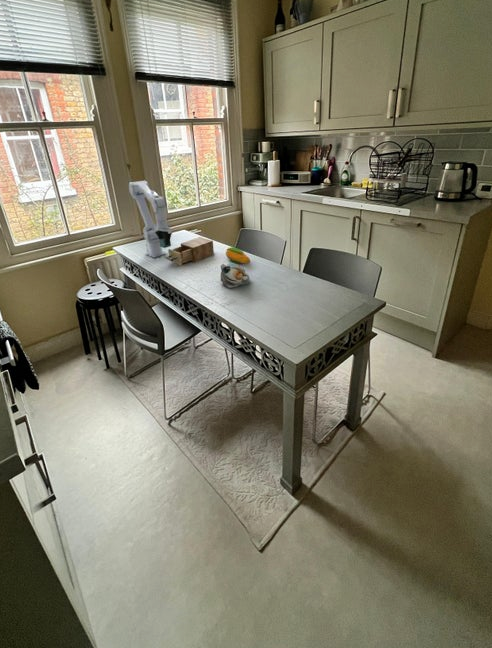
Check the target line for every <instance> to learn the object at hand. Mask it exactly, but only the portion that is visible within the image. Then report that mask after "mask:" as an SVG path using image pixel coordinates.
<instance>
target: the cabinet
mask: <svg viewBox="0 0 492 648" xmlns="http://www.w3.org/2000/svg"><path fill="white" fill-rule="evenodd" d="M180 246H186V247H189V248H192V249H193V257H194V259H193V260H191V262H193V263H196V262H200V261H202V260H204V259H206V258H209V257H212V256H215V253H214V241H213V240H212V239H208V238H205V237H201V236H199V237H197V238H193V239H190V240H187V241H185V242H181V243H180Z"/></svg>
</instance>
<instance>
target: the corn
mask: <svg viewBox="0 0 492 648" xmlns="http://www.w3.org/2000/svg"><path fill="white" fill-rule="evenodd" d="M225 256H226V257H227V259H229V260H230V261H232V262H233V263H235V264H240V265H241V264H249V263H251V259H250V257H249V256H247V254H245V253H244V251H243V250H241V249H240V248H239V247H235V246H233V247H228V248H227V249H226V251H225Z"/></svg>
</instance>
